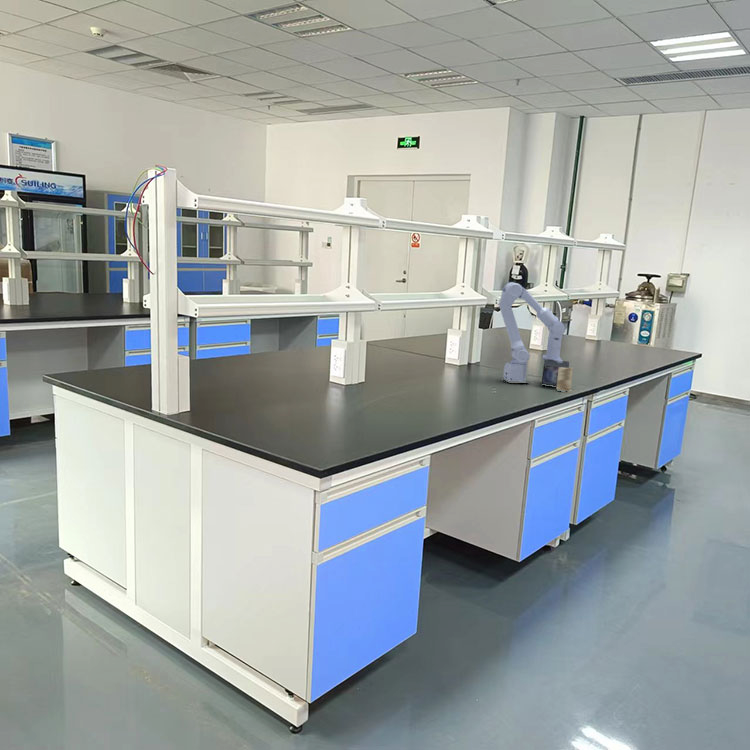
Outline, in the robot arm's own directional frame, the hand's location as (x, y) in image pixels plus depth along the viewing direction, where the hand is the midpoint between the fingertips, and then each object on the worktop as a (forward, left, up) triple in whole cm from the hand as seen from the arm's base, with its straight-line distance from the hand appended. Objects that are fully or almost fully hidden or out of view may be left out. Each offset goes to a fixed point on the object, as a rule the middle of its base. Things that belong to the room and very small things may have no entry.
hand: (550, 378), depth 288 cm
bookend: (-1, -13, -3) cm, 14 cm away
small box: (0, -4, -2) cm, 4 cm away
